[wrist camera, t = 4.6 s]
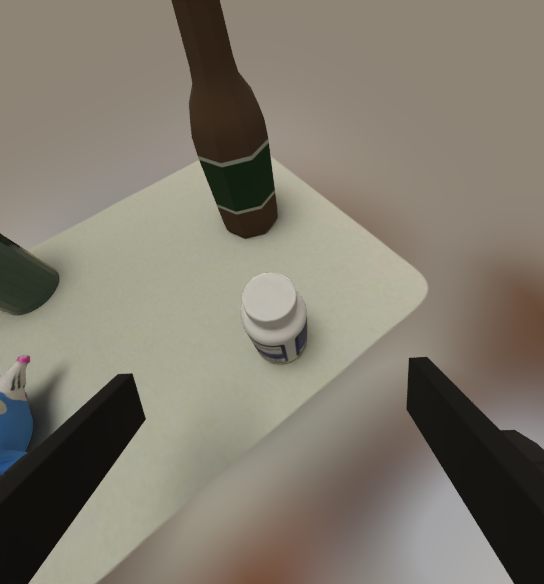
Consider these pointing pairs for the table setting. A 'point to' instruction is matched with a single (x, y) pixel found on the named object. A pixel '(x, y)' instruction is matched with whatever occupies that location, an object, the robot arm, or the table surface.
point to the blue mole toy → (14, 414)
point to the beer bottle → (226, 122)
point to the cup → (23, 279)
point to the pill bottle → (274, 317)
